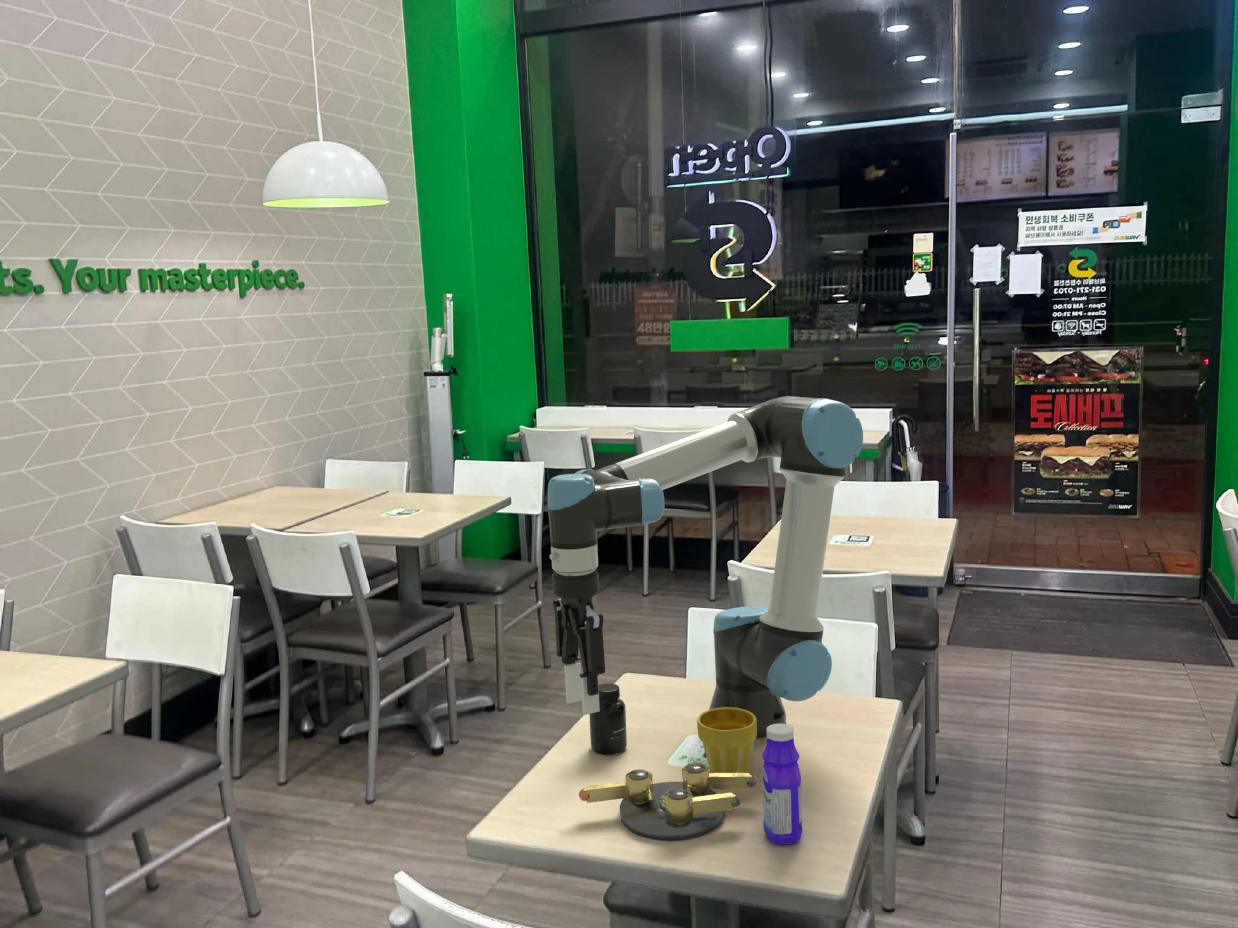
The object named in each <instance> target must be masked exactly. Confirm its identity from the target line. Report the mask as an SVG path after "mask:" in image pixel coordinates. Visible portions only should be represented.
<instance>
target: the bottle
mask: <svg viewBox="0 0 1238 928" xmlns="http://www.w3.org/2000/svg"><path fill="white" fill-rule="evenodd" d="M794 737H795V736H794V728H793V726H791V725H789V724H787V723H786V724H772V725H770V726H768V727H767V737H766V742H765V743H766V744H765V748H764V749H763V752H762V753H761V758H762V760H763V764H762V767H761V776H762V806H763V807H762V809H763V812H762V813H763V814H762V815H763V817H762V818H763V820H762V824H763V830H764V833H765V835H766V837H767V839H768V840H769V841H771V842H772V843H773V844H776V845H792V844H796V843H798V842H799V841H800V840H801V838H802V834H803V825H802V824H803V823H802V822H803V821H802V819H803V818H802V791H801V789H802V788H801V787H802V786H801V783H802V778H801V777H802V775H801V770H800V767H799V763H798V761H799V759H800V753H799V752H798V750H797V748H796V744H795V741H794V740H795V738H794Z"/></svg>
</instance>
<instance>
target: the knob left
mask: <svg viewBox="0 0 1238 928" xmlns="http://www.w3.org/2000/svg"><path fill="white" fill-rule="evenodd" d="M681 771H682V775H681V776H682V782H683V789H686V790H688V791H690V792H691V793H692V796H701V795H705V794H707V793H708V792H709V791H710V789H712V790H750V789H751V788H755V787H756V786H757V784H758V779H757V777H756V776H755V775H753V774H750V772H746V773H711V772H710V769H709V766H707V765H706V764H703V763H701V762H691V763H688V764H686V765H684V766H682V769H681Z"/></svg>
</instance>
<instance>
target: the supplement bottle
mask: <svg viewBox="0 0 1238 928" xmlns="http://www.w3.org/2000/svg"><path fill="white" fill-rule="evenodd" d="M598 690H599V709H600V711H599V712H595V713H591V714H588V716H589V734H590V735H589V738H590V749H591V750H592V752H594V753H596V754H597V755H604V756H605V755H606V756H613V755H617V754H620V753H622V752H624V751H625V750H626V748H627V745H628V743H627V742H628V739H627V738H628V737H627V734H628V733H627V715H626V714H627V713H626V703H625V701H624V700H623V699H621V693H620V686H619V685H618V684H616V683H609V682H608V683H607V682H606V683H600V684H599V683H598Z"/></svg>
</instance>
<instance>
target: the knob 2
mask: <svg viewBox="0 0 1238 928" xmlns="http://www.w3.org/2000/svg"><path fill="white" fill-rule="evenodd" d="M664 801H665V819H666V820H667V821H668V822H671V823H675V824H683V823H687V822H689V821H691V820H692V819H693V815H697V814H705V813H713V812H720V811H726V812H727V811H735V808H738V807H739V806H740V805H741V803H742V800H741V797H740V796H739V795H738V794H736V793H735V794H733V792H726V793H725V792H724V793H718V794H716V795H708V796H700V797H692V793H691V792H690V791H688V790H686V789H682V788H675V789H671V790H669V791H667V792H666V793H665V794H664Z"/></svg>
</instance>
